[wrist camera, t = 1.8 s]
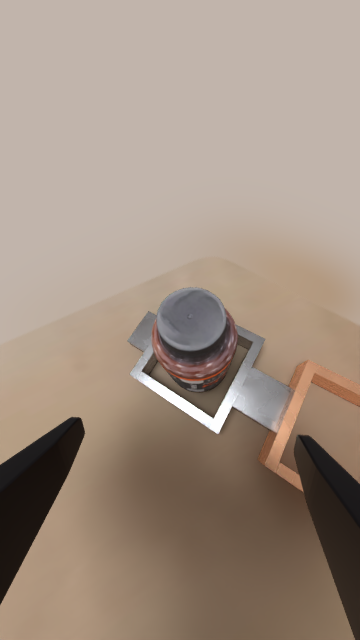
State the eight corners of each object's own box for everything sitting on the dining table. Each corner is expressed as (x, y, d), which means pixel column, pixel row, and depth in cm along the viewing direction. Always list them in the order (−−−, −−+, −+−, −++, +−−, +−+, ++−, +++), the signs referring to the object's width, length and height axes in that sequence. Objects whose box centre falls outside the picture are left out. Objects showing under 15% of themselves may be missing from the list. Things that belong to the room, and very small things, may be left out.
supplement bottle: (210, 405, 20) (213, 394, 10) (159, 374, 22) (116, 338, 12) (237, 351, 22) (262, 295, 12) (187, 326, 24) (171, 259, 14)
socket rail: (450, 442, 17) (487, 446, 15) (428, 574, 14) (468, 604, 12) (163, 298, 26) (159, 287, 23) (116, 364, 23) (106, 358, 21)
